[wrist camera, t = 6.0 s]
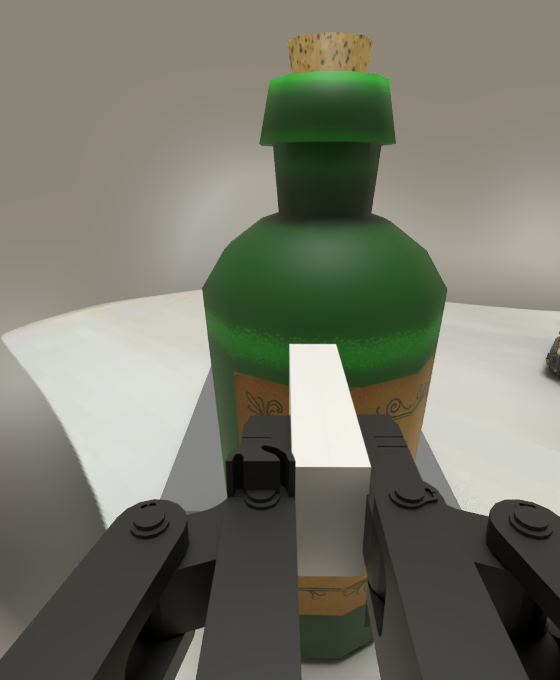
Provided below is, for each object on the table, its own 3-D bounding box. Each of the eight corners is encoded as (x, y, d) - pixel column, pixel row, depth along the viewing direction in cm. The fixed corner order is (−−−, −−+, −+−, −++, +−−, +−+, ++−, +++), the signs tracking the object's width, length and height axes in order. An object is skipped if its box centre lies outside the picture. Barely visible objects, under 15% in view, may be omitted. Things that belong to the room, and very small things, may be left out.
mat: (462, 518, 33) (463, 513, 33) (156, 515, 34) (155, 510, 34) (374, 341, 67) (375, 339, 67) (222, 341, 68) (221, 338, 67)
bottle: (318, 742, 20) (351, -38, 11) (185, 591, 28) (133, 45, 18) (442, 597, 27) (530, 42, 18) (309, 507, 35) (319, 78, 25)
